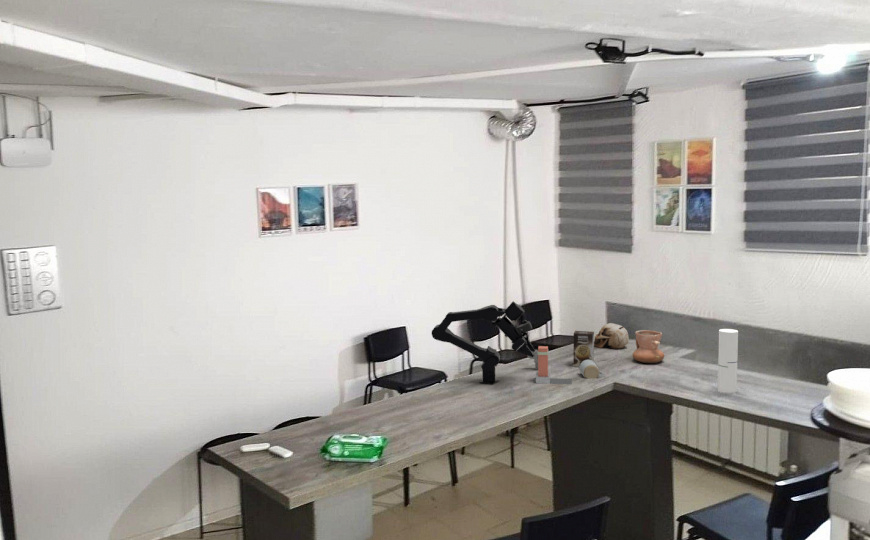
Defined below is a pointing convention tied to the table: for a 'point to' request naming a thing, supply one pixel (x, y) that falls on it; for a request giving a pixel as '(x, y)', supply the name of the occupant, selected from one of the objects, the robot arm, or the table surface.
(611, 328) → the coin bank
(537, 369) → the mechanical component
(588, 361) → the ceramic mug
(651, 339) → the ceramic jug
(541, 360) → the salmon pink rectangular block
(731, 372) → the cylindrical container
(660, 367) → the table surface
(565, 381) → the stand base
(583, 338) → the coffee box
